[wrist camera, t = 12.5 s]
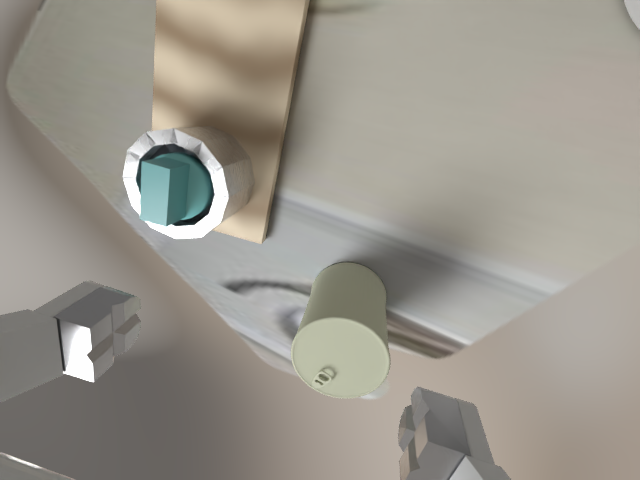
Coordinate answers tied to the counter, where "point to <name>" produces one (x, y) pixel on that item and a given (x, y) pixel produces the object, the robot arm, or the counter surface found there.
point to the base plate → (231, 83)
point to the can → (343, 333)
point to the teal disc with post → (174, 188)
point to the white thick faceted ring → (219, 158)
